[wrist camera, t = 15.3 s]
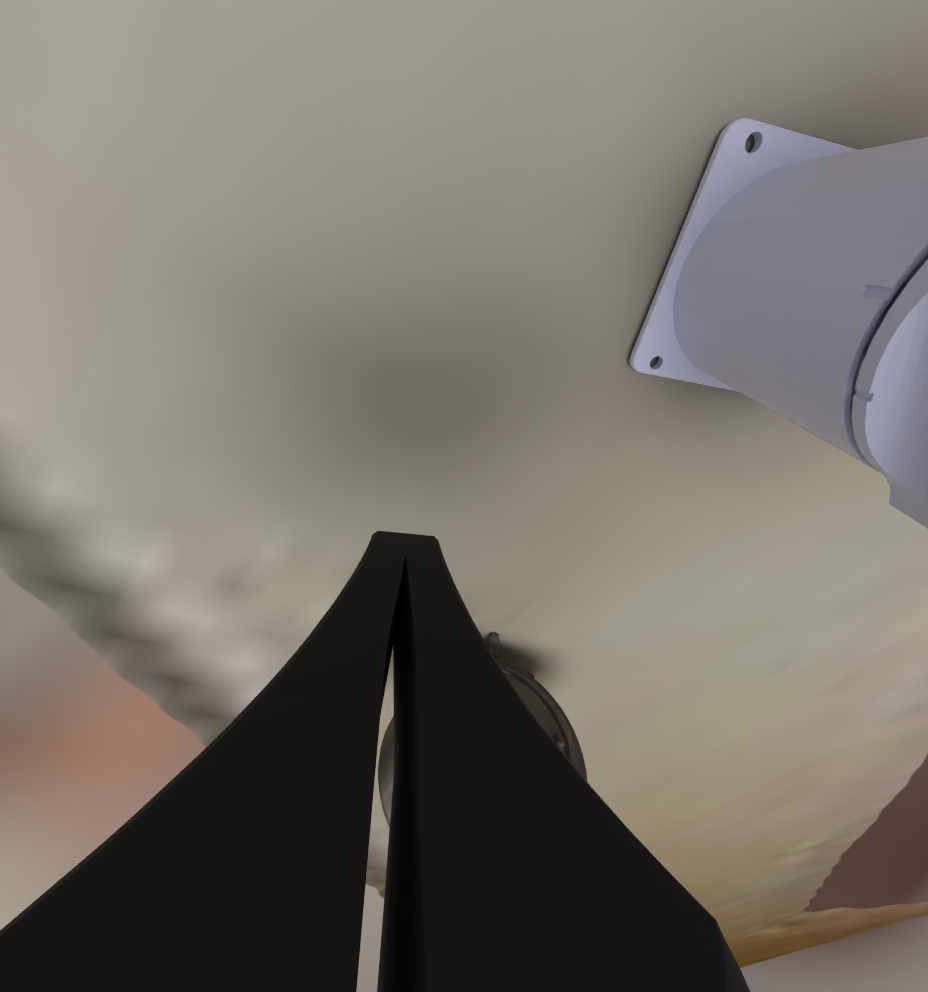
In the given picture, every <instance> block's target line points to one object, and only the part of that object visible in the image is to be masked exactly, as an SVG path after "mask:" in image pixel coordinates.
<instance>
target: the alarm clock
mask: <svg viewBox="0 0 928 992" xmlns="http://www.w3.org/2000/svg"><path fill="white" fill-rule="evenodd" d="M489 650H490V651H491V653H492V655H493V656H494V658H495V659H496V661H497V663H498V664H499V666H500V667H501V669H502V671H503V672H504V674H505V675H506V677H507V678H508V680H509V681H510V682H511V684H512V685H513V687H514V688H515V690H516V691H517V693H518V694H519V696H520V697H521V699H522V700H523V701H524V703H525V704H526V705H527V707H528V708H529V709H530V711H531V712H532V714H533V715H534V716H535V718H536V719H537V720H538V722H539V723H540V724H541V726H542V727H543V728H544V730H545V731H546V732H547V734H548V735H549V736H550V737H551V738H552V740H553V741H554V742H555V743H556V745H557V746H558V747H559V748H560V749H561V751H562V752H563V753H564V754H565V756H566V757H567V758H568V759H569V761H570V762H571V763H572V764H573V765H574V767H575V768H576V769H577V770H578V772H579V773H580V774H581V775H582V776H583V778H584V779H585V780H586V781H587V774H586V768H585V763H584V758H583V754H582V751H581V748H580V744H579V742H578V739H577V737H576V734H575V732H574V730H573V728H572V726H571V724H570V722H569V720H568V718H567V717H566V715H565V713H564V712H563V710H562V709H561V707H560V706H559V705H558V703H557V702H556V701H555V699H554V698H553V697H552V696H551V695H550V694H549V692H548V691H547V690H546V689H545V688H544V687H543V686H542V685H541V684H540V683H539V682H537V681H536V680H535V679H534V676H533V675H532V674H527V673H526V672H525V671H523V670H522V669H520V668H518V667H517V666H515V665H513V664H511V663H509V662H507V661H504V660H502V659H500V658H499V636H498V635H497V634H494V633H493V634H491V636H490V640H489ZM393 775H394V716H393V718H392V720H391V722H390V723H389V725H388V727H387V730H386V732H385V735H384V738H383V741H382V746H381V750H380V757H379V766H378V782H379V792H380V798H381V802H382V808H383V811H384V815H385V817H386V820H387V823H388V826H389V828H390V817H391V803H392V789H393Z"/></svg>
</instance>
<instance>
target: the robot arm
mask: <svg viewBox="0 0 928 992" xmlns="http://www.w3.org/2000/svg"><path fill="white" fill-rule="evenodd" d="M750 134H752V135H753V136H754V139H755V143H754V147H753V148H752V150H751V151H750V152H749V153H748V152H747V151H746V150H745V143H746V140H747V138H748V137H749V135H750ZM656 356H658V357H659V360H658V362H657V364H656V365H654V366H652V367H650V361H651V360H652V359H653V358H654V357H656ZM630 366H631V367H632V368H633V369H634V370H635V371H637V372H640V373H645V374H650V375H656V376H661V377H666V378H671V379H676V380H681V381H687V382H692V383H697V384H702V385H707V386H712V387H717V388H723V389H728V390H733V391H738V392H740V393H741V394H743V395H745V396H747V397H748V398H750V399H752V400H754V401H756V402H757V403H759V404H761V405H763V406H764V407H766V408H768V409H770V410H771V411H773V412H775V413H777V414H778V415H780V416H782V417H784V418H785V419H787V420H789V421H791V422H792V423H794V424H796V425H798V426H799V427H801V428H803V429H805V430H807V431H808V432H810V433H812V434H814V435H815V436H817V437H819V438H821V439H822V440H824V441H826V442H828V443H829V444H831V445H833V446H835V447H836V448H838V449H840V450H842V451H843V452H845V453H847V454H849V455H850V456H852V457H854V458H856V459H858V460H859V461H861V462H863V463H865V464H866V465H868V466H870V467H872V468H873V469H875V470H877V471H879V472H880V473H881V474H882V475H883V476H884V477H886V479H887V480H888V483H889V485H890V490H891V493H890V500H889V504H890V505H892V506H893V507H895V508H896V509H898V510H900V511H901V512H903V513H904V514H906V515H908V516H909V517H911V518H912V519H914V520H916V521H917V522H919V523H920V524H922V525H923V526H925V527H927V528H928V137H923V138H918V139H913V140H907V141H902V142H897V143H892V144H887V145H881V146H876V147H871V148H866V149H861V150H857V149H853V148H850V147H847V146H843V145H840V144H836V143H833V142H829V141H826V140H822V139H819V138H815V137H812V136H808V135H805V134H801V133H798V132H795V131H791V130H788V129H784V128H781V127H777V126H774V125H770V124H767V123H763V122H760V121H756V120H753V119H749V118H740V119H737V120H735V121H733V122H731V123H729V124H728V125H727V126H726V127H725V128H724V129H723V131H722V132H721V134H720V136H719V138H718V141H717V143H716V146H715V148H714V151H713V153H712V156H711V158H710V161H709V163H708V165H707V168H706V170H705V173H704V175H703V178H702V180H701V183H700V185H699V188H698V190H697V193H696V195H695V198H694V200H693V203H692V205H691V208H690V210H689V213H688V215H687V217H686V220H685V222H684V225H683V227H682V230H681V232H680V235H679V237H678V240H677V242H676V245H675V247H674V250H673V252H672V255H671V257H670V260H669V262H668V264H667V267H666V269H665V272H664V274H663V277H662V279H661V282H660V284H659V287H658V289H657V292H656V294H655V297H654V299H653V302H652V304H651V307H650V309H649V312H648V314H647V316H646V319H645V321H644V324H643V326H642V329H641V331H640V334H639V336H638V339H637V341H636V344H635V346H634V349H633V351H632V354H631V356H630ZM392 648H393V660H394V775H393V789H392V803H391V817H390V831H389V845H388V858H387V871H386V885H385V898H384V912H383V925H382V937H381V949H380V963H379V975H378V988H377V992H750V990H749V988H748V986H747V984H746V981H745V979H744V976H743V974H742V972H741V970H740V968H739V966H738V964H737V962H736V960H735V958H734V956H733V954H732V952H731V950H730V948H729V946H728V945H727V943H726V941H725V938H724V936H723V934H722V932H721V930H720V928H719V926H718V924H717V922H716V920H715V919H714V918H713V917H712V916H711V915H710V914H709V913H708V912H707V911H706V910H705V908H704V907H703V906H702V905H701V904H700V903H699V902H698V901H697V900H696V899H695V898H694V897H693V896H692V895H691V894H690V893H689V892H688V891H687V890H686V889H685V888H684V887H683V886H682V885H681V884H680V883H679V882H678V881H677V880H676V879H675V878H674V877H673V876H672V875H671V874H670V873H669V872H668V871H667V870H666V869H665V868H664V867H663V865H662V864H661V863H660V862H659V861H658V860H657V859H656V858H655V857H654V856H653V855H652V854H651V853H650V852H649V851H648V849H647V848H646V847H645V846H644V845H643V844H642V843H641V842H640V841H639V840H638V839H637V838H636V837H635V836H634V835H633V833H632V832H631V831H630V830H629V829H628V828H627V827H626V826H625V825H624V824H623V822H622V821H621V820H620V819H619V818H618V817H617V816H616V814H615V813H614V812H613V811H612V810H611V809H610V808H609V807H608V805H607V804H606V803H605V802H604V801H603V800H602V799H601V798H600V796H599V795H598V794H597V793H596V792H595V791H594V790H593V789H592V787H591V786H590V785H589V784H588V783H587V781H586V780H585V779H584V778H583V776H582V775H581V774H580V773H579V772H578V770H577V769H576V768H575V767H574V765H573V764H572V763H571V762H570V761H569V759H568V758H567V757H566V756H565V754H564V753H563V752H562V751H561V749H560V748H559V747H558V746H557V745H556V743H555V742H554V741H553V740H552V738H551V737H550V736H549V735H548V734H547V732H546V731H545V730H544V728H543V727H542V726H541V724H540V723H539V722H538V720H537V719H536V718H535V716H534V715H533V714H532V712H531V711H530V709H529V708H528V707H527V705H526V704H525V703H524V701H523V700H522V699H521V697H520V696H519V694H518V693H517V691H516V690H515V688H514V687H513V685H512V684H511V682H510V681H509V680H508V678H507V677H506V675H505V674H504V672H503V671H502V669H501V667H500V666H499V664H498V663H497V661H496V659H495V658H494V656H493V655H492V653H491V651H490V650H489V648H488V646H487V645H486V643H485V641H484V639H483V638H482V636H481V634H480V633H479V631H478V629H477V627H476V625H475V623H474V622H473V620H472V618H471V616H470V614H469V612H468V610H467V608H466V606H465V604H464V602H463V600H462V598H461V596H460V594H459V592H458V590H457V588H456V586H455V584H454V581H453V579H452V577H451V574H450V572H449V570H448V567H447V565H446V562H445V560H444V557H443V554H442V551H441V548H440V545H439V541H438V540H437V539H436V538H435V537H434V536H426V535H416V534H405V533H395V532H385V531H377V532H376V533H374V534H373V535H372V537H371V540H370V543H369V545H368V547H367V549H366V551H365V553H364V555H363V557H362V559H361V561H360V562H359V564H358V566H357V568H356V569H355V571H354V573H353V574H352V576H351V577H350V579H349V581H348V582H347V584H346V585H345V587H344V588H343V590H342V591H341V593H340V594H339V596H338V597H337V599H336V600H335V602H334V603H333V604H332V606H331V607H330V609H329V610H328V611H327V613H326V614H325V615H324V617H323V618H322V619H321V621H320V622H319V623H318V624H317V626H316V627H315V628H314V630H313V631H312V632H311V634H310V635H309V636H308V638H307V639H306V640H305V641H304V643H303V644H302V645H301V646H300V647H299V649H298V650H297V651H296V652H295V654H294V655H293V656H292V657H291V658H290V659H289V661H288V662H287V663H286V664H285V665H284V666H283V668H282V669H281V670H280V671H279V672H278V673H277V674H276V676H275V677H274V678H273V679H272V680H271V681H270V682H269V683H268V685H267V686H266V687H265V688H264V689H263V690H262V691H261V692H260V693H259V694H258V695H257V696H256V697H255V698H254V699H253V700H252V702H251V703H250V704H249V705H248V706H247V707H246V708H245V709H244V710H243V711H242V712H241V713H240V714H239V715H238V716H237V717H236V718H235V719H234V720H233V721H232V723H231V724H230V725H229V726H228V727H227V728H226V729H225V730H224V731H223V732H222V733H221V734H220V735H219V736H218V737H217V738H216V739H215V740H214V741H213V742H212V743H211V744H210V745H209V746H208V747H207V748H205V749H204V750H203V751H202V752H201V753H200V754H199V755H198V756H197V757H196V758H195V759H194V760H193V761H192V762H191V763H190V764H189V765H187V766H186V767H185V768H184V769H183V770H182V771H181V772H180V773H179V774H178V775H177V776H176V777H175V778H173V780H171V781H170V782H169V783H168V784H167V785H166V786H165V787H164V788H163V789H162V790H161V791H160V792H159V793H157V794H156V795H155V796H154V797H153V798H152V799H151V800H150V801H149V802H148V803H147V804H146V805H145V806H143V808H141V809H140V810H139V811H138V812H137V813H136V814H135V815H134V816H133V817H132V818H131V819H129V820H128V821H127V822H126V823H125V824H124V825H123V826H122V827H120V828H119V829H118V830H117V831H116V832H115V833H114V834H113V835H111V836H110V837H109V838H108V839H107V840H106V841H105V842H104V843H102V845H100V846H99V847H98V848H97V849H95V850H94V851H93V852H92V853H91V854H90V855H88V856H87V857H86V858H85V859H84V860H82V861H81V862H80V863H79V864H78V865H77V866H75V867H74V868H73V869H72V870H71V871H70V872H68V873H67V874H66V875H65V876H64V877H63V878H61V879H60V880H59V881H58V882H57V883H55V884H54V885H53V886H52V887H51V888H50V889H48V891H46V892H45V893H44V894H43V895H41V896H40V897H39V898H38V899H37V900H36V901H34V902H33V903H32V904H31V905H30V906H29V907H27V908H26V909H25V910H24V911H23V912H22V913H20V914H19V915H18V916H17V917H16V918H14V919H13V920H12V921H11V922H10V923H9V924H7V925H6V926H5V927H4V928H3V929H2V930H0V992H356V987H357V976H358V964H359V953H360V941H361V929H362V918H363V905H364V893H365V882H366V871H367V859H368V847H369V836H370V824H371V813H372V801H373V790H374V778H375V767H376V756H377V744H378V733H379V722H380V714H381V708H382V703H383V697H384V692H385V686H386V681H387V676H388V670H389V665H390V659H391V654H392Z"/></svg>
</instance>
